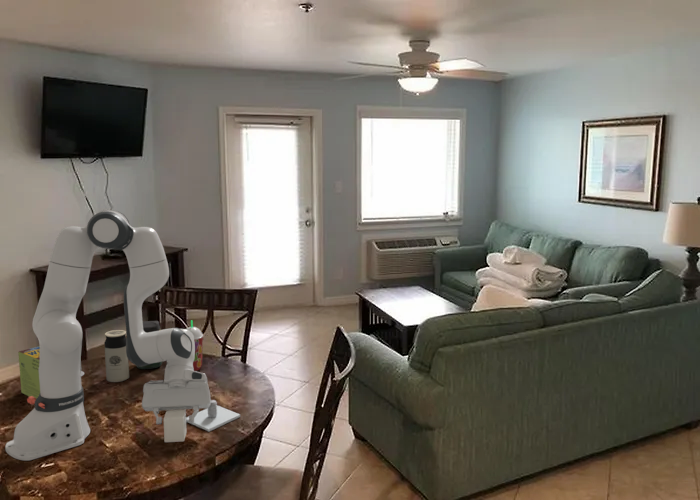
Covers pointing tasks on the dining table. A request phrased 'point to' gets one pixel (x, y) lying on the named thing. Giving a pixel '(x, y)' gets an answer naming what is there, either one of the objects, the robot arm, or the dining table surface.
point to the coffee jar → (147, 327)
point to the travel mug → (116, 356)
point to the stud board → (214, 421)
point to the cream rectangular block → (175, 425)
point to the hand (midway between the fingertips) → (175, 422)
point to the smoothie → (197, 346)
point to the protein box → (30, 371)
